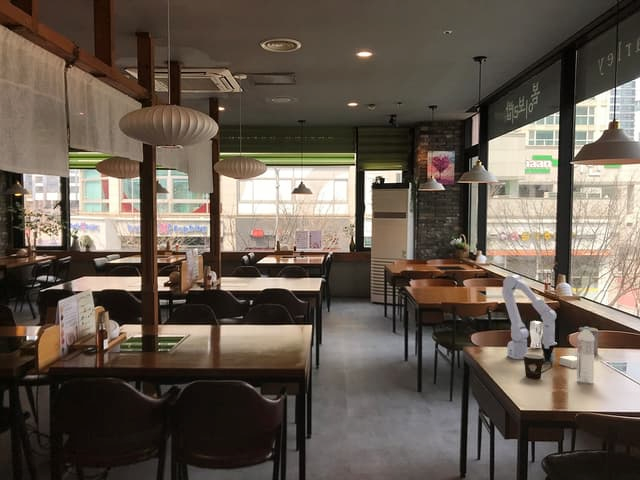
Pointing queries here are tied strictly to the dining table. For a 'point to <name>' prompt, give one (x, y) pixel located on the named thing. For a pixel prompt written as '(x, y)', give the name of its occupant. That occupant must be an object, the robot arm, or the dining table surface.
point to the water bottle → (585, 357)
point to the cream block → (568, 361)
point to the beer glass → (536, 333)
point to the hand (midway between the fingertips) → (548, 359)
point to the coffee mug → (534, 366)
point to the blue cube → (550, 358)
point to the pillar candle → (595, 333)
